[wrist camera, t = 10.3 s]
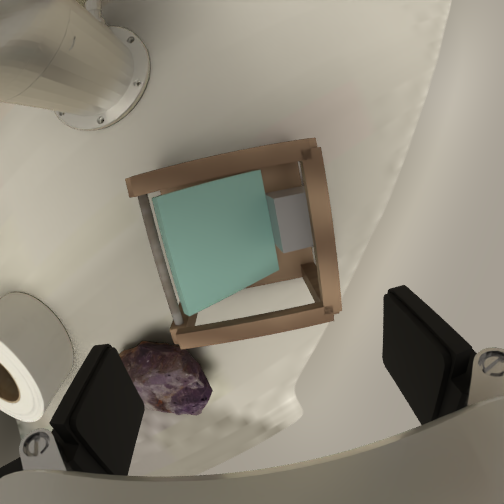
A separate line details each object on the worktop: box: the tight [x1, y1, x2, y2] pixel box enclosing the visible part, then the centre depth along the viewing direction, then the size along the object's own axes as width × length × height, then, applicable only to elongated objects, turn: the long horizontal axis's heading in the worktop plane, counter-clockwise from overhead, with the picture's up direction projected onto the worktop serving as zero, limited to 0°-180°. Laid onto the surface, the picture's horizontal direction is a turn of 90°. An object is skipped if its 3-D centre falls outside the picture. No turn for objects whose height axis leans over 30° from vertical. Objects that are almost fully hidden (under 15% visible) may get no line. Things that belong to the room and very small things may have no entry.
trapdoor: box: [152, 170, 279, 316], centre depth 29 cm, size 10×11×1 cm
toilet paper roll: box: [0, 292, 74, 422], centre depth 32 cm, size 16×15×11 cm
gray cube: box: [265, 186, 314, 253], centre depth 30 cm, size 5×5×5 cm
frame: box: [125, 138, 342, 349], centre depth 28 cm, size 14×14×11 cm
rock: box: [119, 341, 213, 415], centre depth 34 cm, size 12×9×10 cm
